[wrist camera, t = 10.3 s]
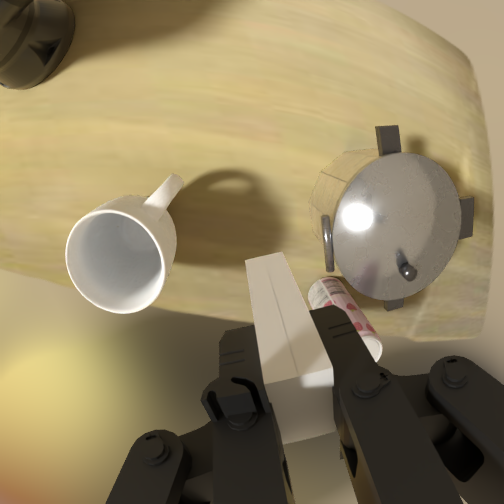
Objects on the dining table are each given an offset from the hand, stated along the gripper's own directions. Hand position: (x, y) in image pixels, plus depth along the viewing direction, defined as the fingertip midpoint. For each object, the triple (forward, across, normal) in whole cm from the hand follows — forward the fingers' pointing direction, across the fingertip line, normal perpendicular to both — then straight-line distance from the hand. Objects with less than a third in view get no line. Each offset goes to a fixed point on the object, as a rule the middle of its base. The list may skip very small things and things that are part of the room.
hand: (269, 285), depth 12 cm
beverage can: (+27, +9, -19) cm, 34 cm away
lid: (+17, +17, -7) cm, 25 cm away
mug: (+28, -13, -2) cm, 31 cm away
